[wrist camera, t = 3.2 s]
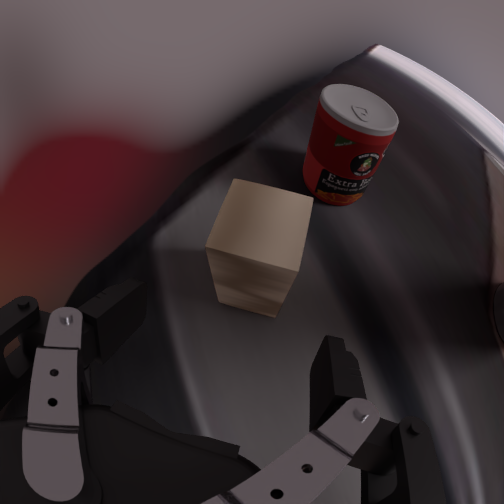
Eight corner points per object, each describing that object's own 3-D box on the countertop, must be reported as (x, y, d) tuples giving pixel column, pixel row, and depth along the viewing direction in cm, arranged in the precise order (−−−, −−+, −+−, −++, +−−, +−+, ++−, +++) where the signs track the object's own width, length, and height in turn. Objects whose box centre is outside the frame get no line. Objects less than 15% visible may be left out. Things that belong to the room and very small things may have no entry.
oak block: (288, 266, 25) (313, 197, 16) (275, 318, 23) (298, 271, 14) (235, 252, 25) (234, 178, 16) (218, 302, 23) (205, 246, 14)
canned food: (312, 211, 28) (341, 127, 18) (293, 158, 31) (308, 80, 22) (373, 205, 29) (414, 134, 19) (348, 157, 32) (374, 87, 23)
